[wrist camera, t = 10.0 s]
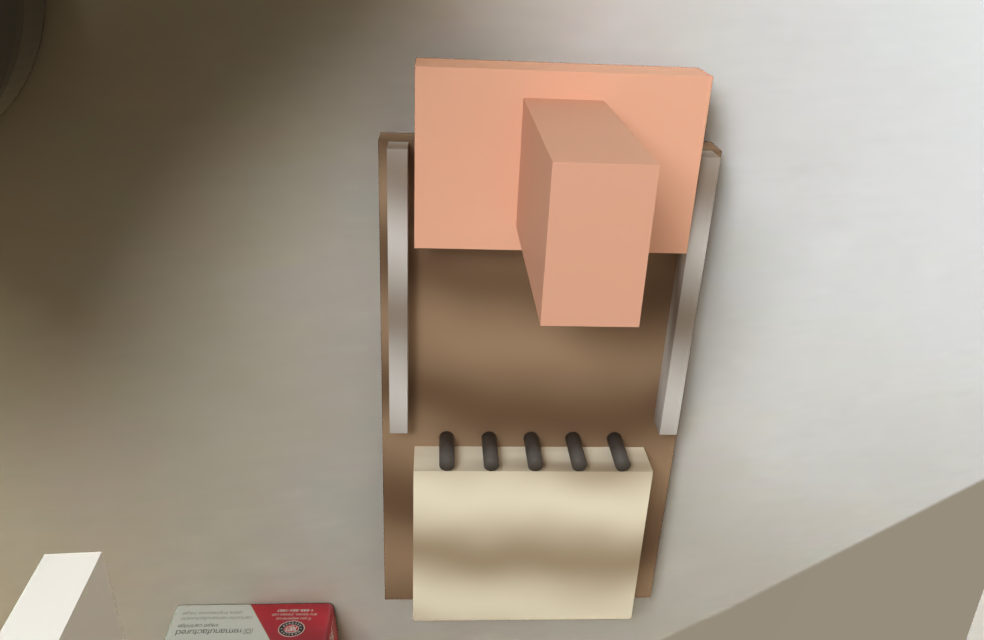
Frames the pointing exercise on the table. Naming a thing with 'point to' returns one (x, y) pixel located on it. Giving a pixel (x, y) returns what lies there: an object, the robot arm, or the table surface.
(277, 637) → the ink box
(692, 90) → the stub
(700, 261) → the board
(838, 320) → the table surface
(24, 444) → the table surface
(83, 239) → the table surface
